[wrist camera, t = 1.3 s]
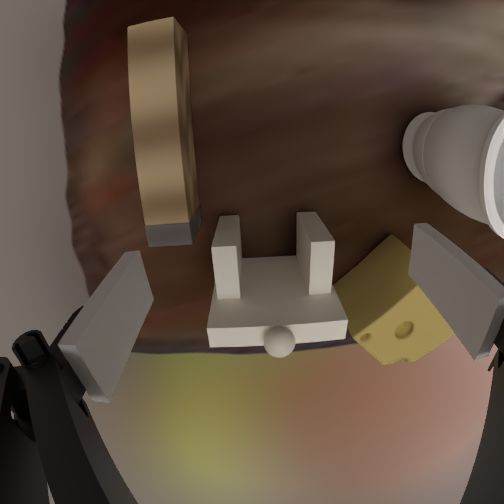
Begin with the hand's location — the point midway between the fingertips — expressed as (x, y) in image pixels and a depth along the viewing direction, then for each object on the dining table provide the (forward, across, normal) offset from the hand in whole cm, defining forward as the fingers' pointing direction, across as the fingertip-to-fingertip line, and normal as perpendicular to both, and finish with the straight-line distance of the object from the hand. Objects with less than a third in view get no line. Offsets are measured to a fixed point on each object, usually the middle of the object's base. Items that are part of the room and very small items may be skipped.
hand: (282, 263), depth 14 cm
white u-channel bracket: (+18, 0, -8) cm, 20 cm away
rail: (+18, -8, +6) cm, 21 cm away
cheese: (+18, +14, -14) cm, 27 cm away
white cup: (+18, +19, +3) cm, 27 cm away
